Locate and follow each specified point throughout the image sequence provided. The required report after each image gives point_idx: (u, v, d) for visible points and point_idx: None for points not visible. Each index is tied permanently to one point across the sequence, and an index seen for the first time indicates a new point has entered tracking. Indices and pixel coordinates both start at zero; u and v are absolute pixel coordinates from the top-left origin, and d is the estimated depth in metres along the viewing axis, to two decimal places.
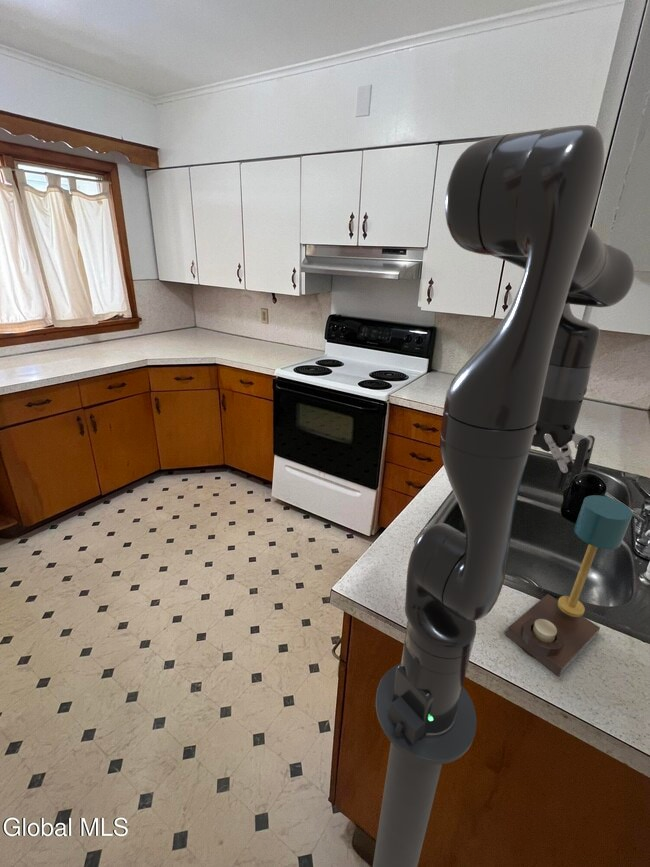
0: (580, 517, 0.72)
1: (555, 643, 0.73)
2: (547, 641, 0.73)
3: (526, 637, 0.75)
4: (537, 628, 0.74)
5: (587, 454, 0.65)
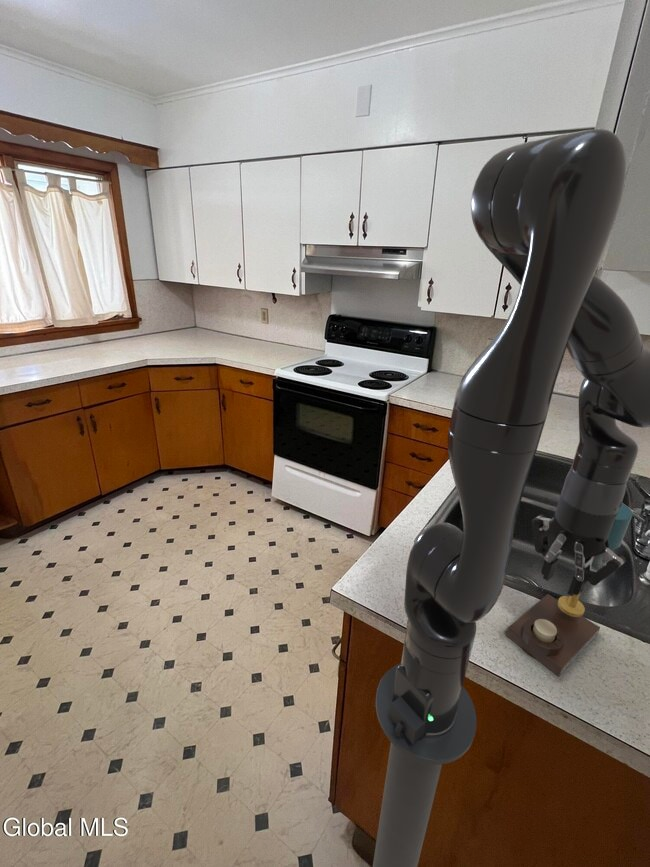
0: None
1: (555, 643, 0.73)
2: (547, 641, 0.73)
3: (526, 637, 0.75)
4: (537, 628, 0.74)
5: None
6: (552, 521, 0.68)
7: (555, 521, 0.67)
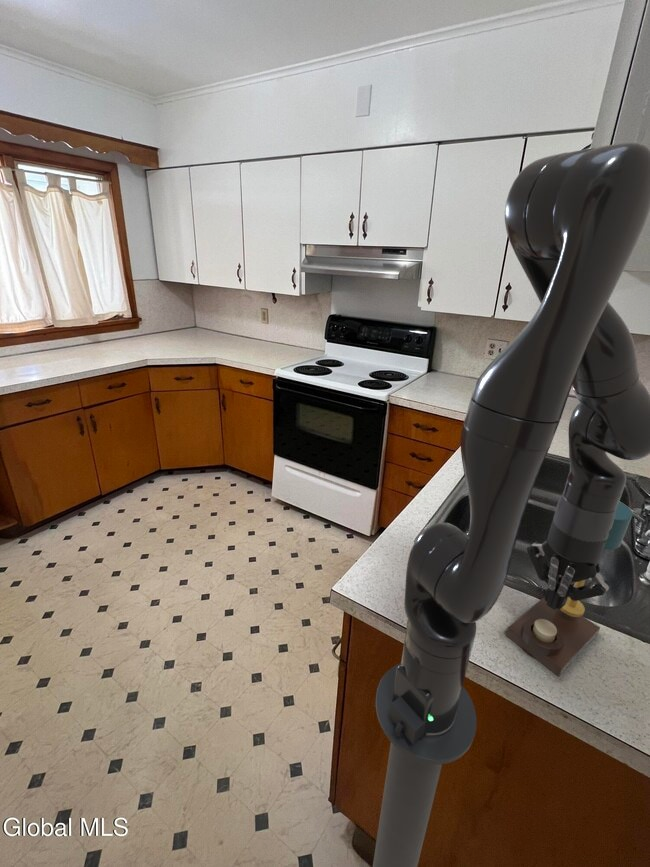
0: None
1: (555, 643, 0.73)
2: (547, 641, 0.73)
3: (526, 637, 0.75)
4: (537, 628, 0.74)
5: None
6: (545, 544, 0.70)
7: (548, 544, 0.69)
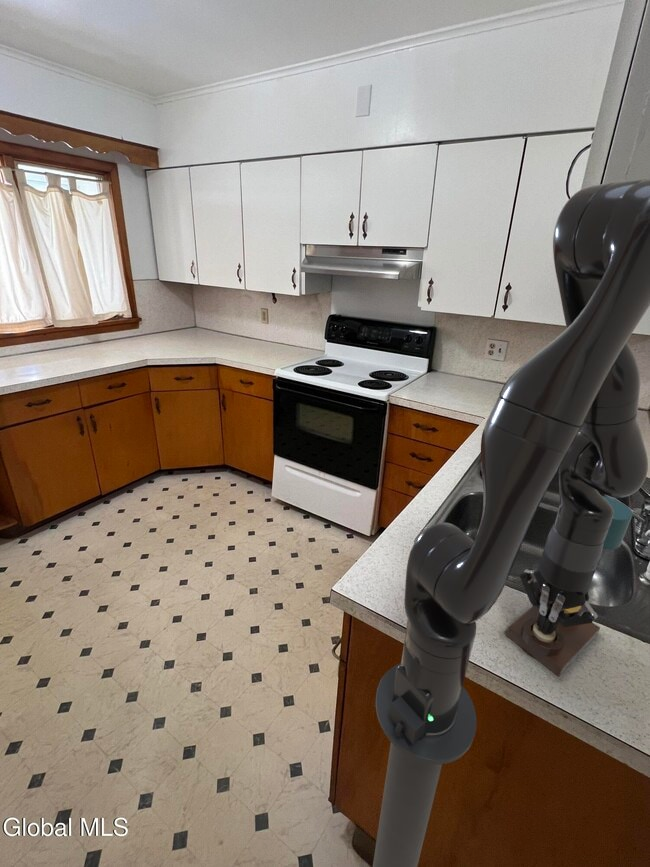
0: None
1: (555, 643, 0.73)
2: None
3: (526, 637, 0.75)
4: (536, 632, 0.74)
5: None
6: (537, 571, 0.72)
7: (539, 572, 0.72)
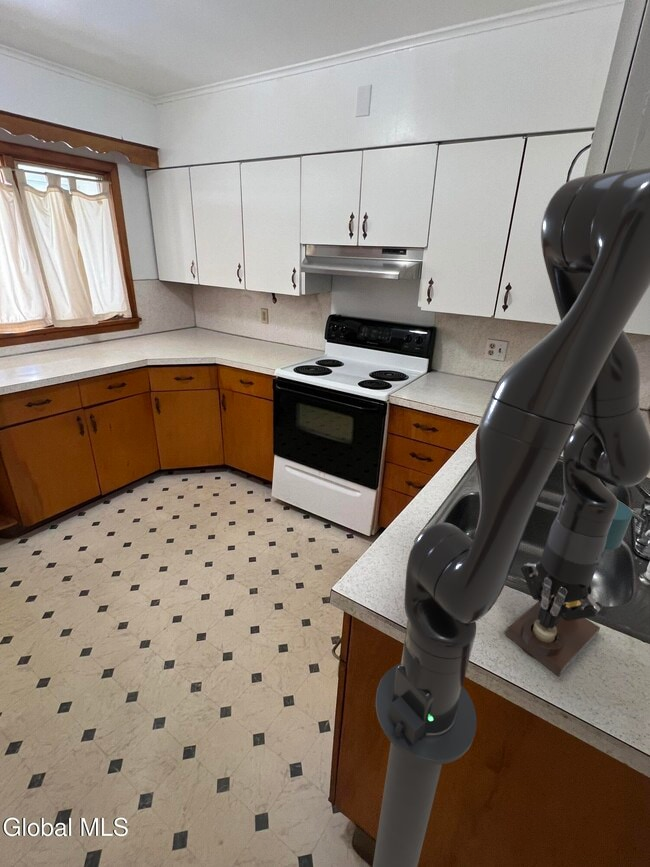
0: None
1: (555, 643, 0.73)
2: (547, 641, 0.73)
3: (526, 637, 0.75)
4: (537, 628, 0.74)
5: None
6: (539, 564, 0.71)
7: (541, 565, 0.71)
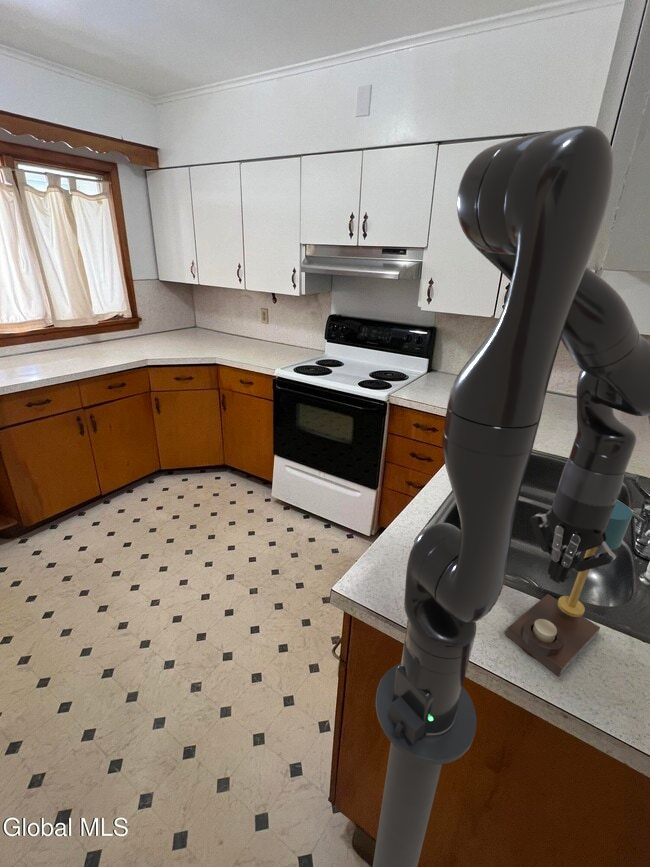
0: None
1: (555, 643, 0.73)
2: (547, 641, 0.73)
3: (526, 637, 0.75)
4: (537, 628, 0.74)
5: None
6: (549, 513, 0.67)
7: (552, 513, 0.66)
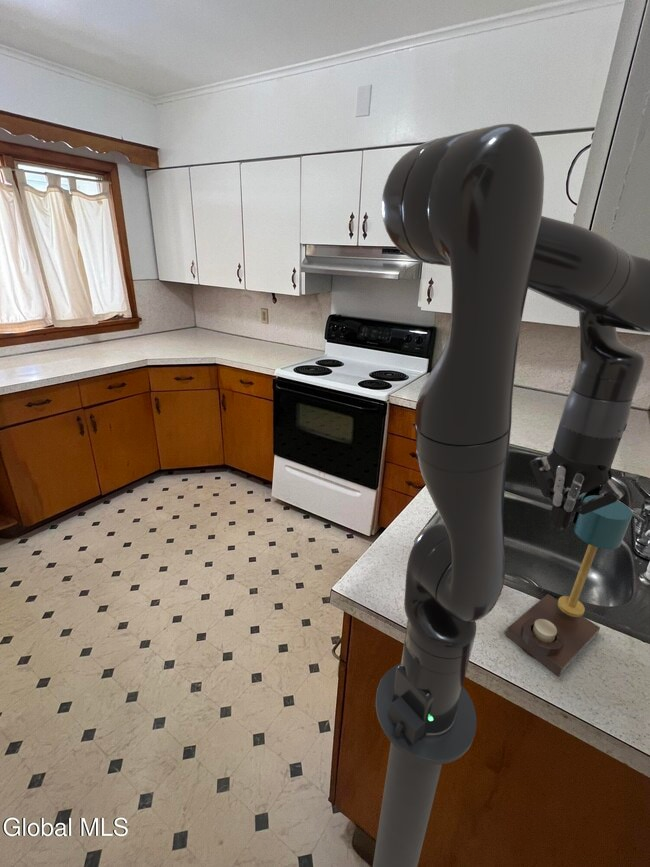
0: (580, 517, 0.72)
1: (555, 643, 0.73)
2: (547, 641, 0.73)
3: (526, 637, 0.75)
4: (537, 628, 0.74)
5: None
6: (550, 454, 0.62)
7: (554, 453, 0.62)
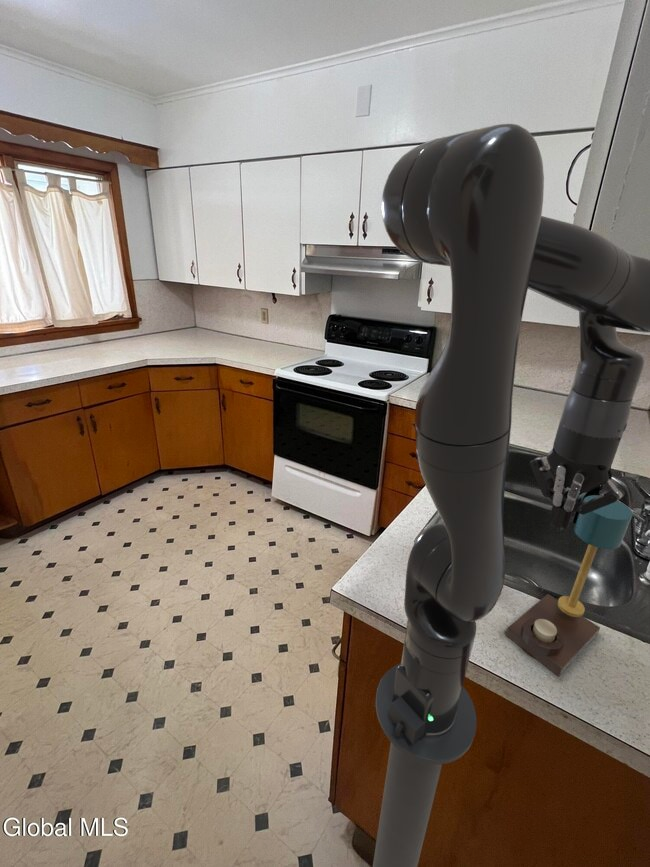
0: (580, 517, 0.72)
1: (555, 643, 0.73)
2: (547, 641, 0.73)
3: (526, 637, 0.75)
4: (537, 628, 0.74)
5: None
6: (550, 454, 0.62)
7: (554, 453, 0.62)
